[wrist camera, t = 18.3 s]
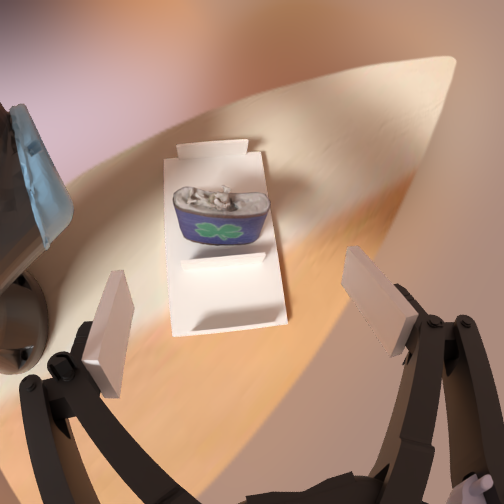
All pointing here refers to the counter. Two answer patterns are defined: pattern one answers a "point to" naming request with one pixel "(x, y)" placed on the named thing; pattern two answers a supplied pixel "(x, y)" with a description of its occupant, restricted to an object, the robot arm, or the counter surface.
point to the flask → (220, 215)
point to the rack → (220, 248)
